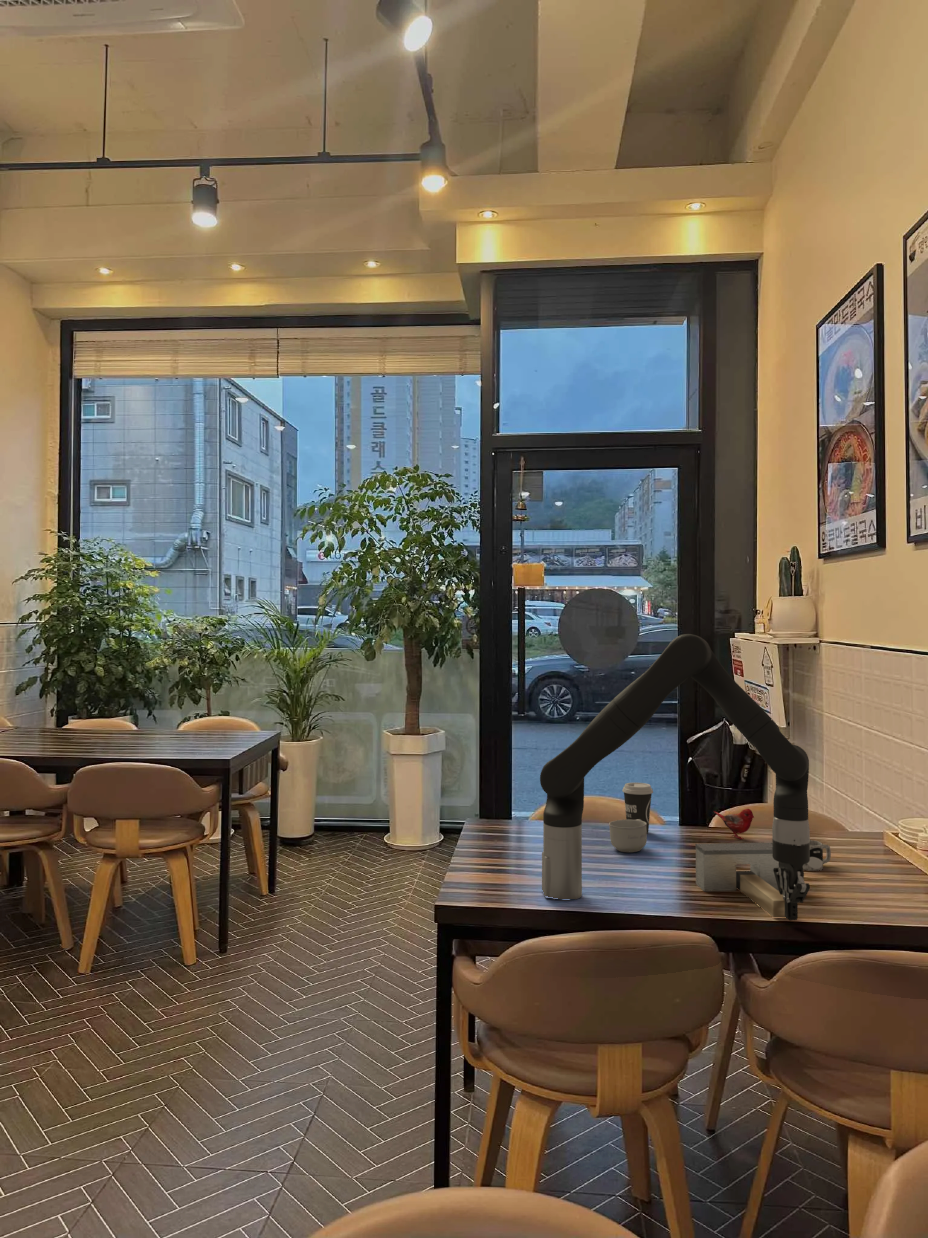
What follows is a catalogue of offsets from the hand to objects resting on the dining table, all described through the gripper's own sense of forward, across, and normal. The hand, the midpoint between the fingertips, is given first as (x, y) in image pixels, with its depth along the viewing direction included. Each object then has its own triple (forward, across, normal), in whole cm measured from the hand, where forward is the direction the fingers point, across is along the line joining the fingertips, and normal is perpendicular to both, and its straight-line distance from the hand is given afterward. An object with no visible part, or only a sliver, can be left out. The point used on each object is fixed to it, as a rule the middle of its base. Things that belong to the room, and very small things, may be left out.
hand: (791, 919), depth 175 cm
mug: (+2, -43, +26) cm, 50 cm away
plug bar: (+2, -16, 0) cm, 16 cm away
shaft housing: (+2, -26, 0) cm, 27 cm away
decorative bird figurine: (+2, -75, +16) cm, 76 cm away
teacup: (+2, -62, -19) cm, 65 cm away
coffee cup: (+2, -82, -12) cm, 82 cm away
